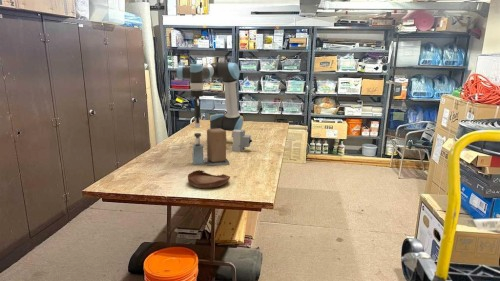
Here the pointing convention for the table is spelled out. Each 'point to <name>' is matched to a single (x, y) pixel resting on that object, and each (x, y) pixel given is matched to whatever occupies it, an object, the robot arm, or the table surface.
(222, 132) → the wooden block
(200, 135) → the plunger
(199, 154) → the press
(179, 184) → the table surface
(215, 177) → the broken brown bowl
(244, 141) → the circuit breaker
